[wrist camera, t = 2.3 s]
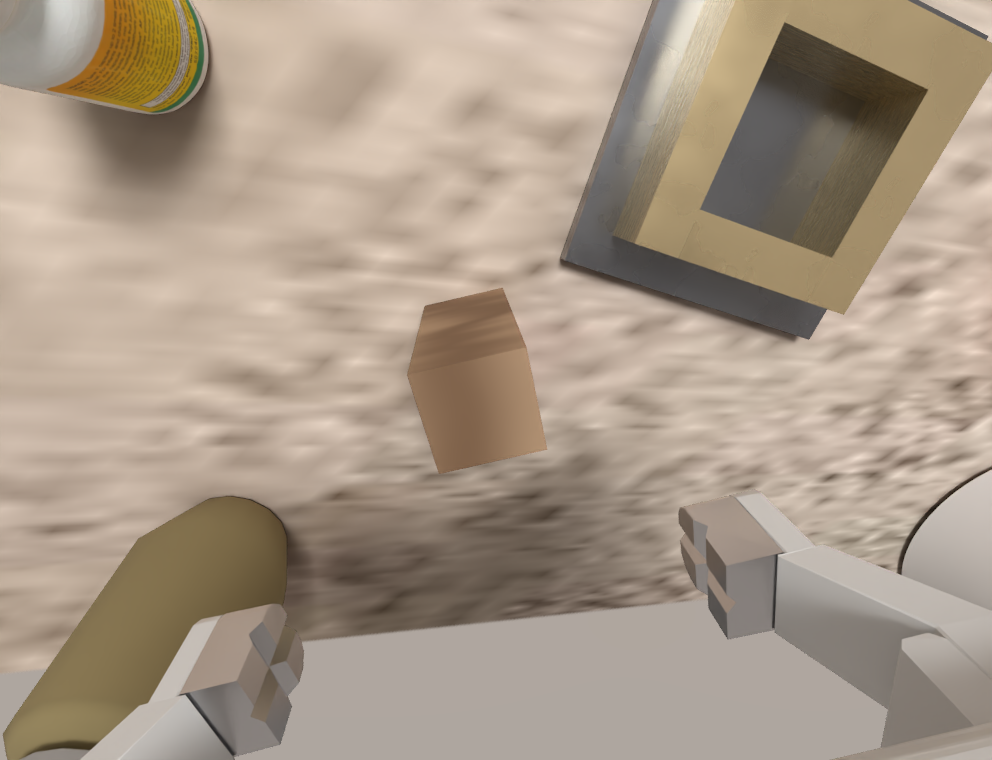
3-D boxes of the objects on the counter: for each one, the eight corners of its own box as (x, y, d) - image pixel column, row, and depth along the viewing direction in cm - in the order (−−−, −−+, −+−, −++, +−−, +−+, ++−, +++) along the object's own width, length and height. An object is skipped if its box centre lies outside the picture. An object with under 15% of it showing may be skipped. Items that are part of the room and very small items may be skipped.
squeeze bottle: (211, 598, 30) (-88, 1111, 14) (135, 502, 27) (-379, 1020, 10) (329, 562, 30) (168, 1047, 13) (266, 460, 26) (-53, 932, 10)
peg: (502, 287, 24) (526, 347, 15) (518, 360, 25) (547, 449, 17) (422, 306, 24) (402, 376, 15) (442, 377, 25) (434, 474, 17)
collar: (965, 42, 21) (1074, 13, 17) (796, 333, 26) (853, 359, 22) (687, -97, 18) (746, -167, 14) (560, 257, 23) (579, 272, 19)
